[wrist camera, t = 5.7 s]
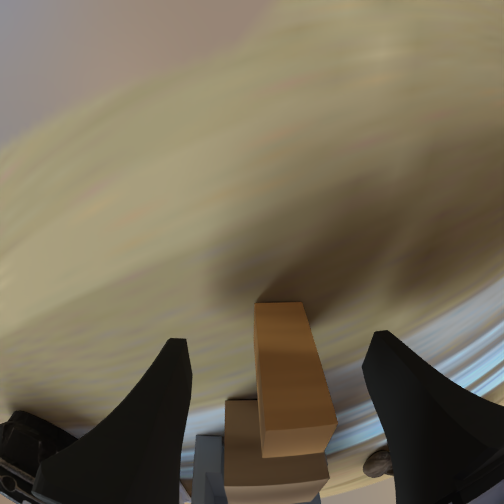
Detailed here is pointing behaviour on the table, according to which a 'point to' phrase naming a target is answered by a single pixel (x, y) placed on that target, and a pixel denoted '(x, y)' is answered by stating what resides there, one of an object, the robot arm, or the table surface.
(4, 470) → the container
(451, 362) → the table surface
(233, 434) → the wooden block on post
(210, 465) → the grey u-shaped cradle
